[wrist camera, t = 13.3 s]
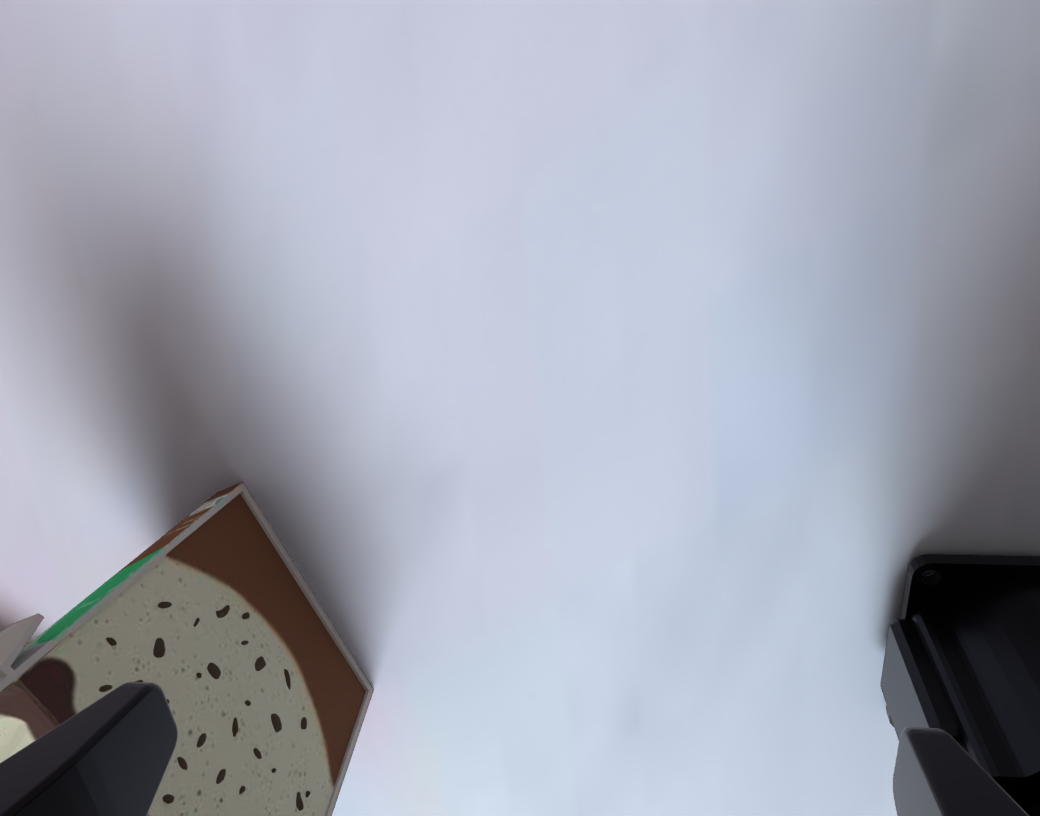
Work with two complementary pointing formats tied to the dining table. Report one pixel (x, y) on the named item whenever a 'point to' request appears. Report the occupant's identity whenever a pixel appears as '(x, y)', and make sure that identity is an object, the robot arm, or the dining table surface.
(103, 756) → the robot arm
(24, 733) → the food container
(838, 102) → the dining table surface
